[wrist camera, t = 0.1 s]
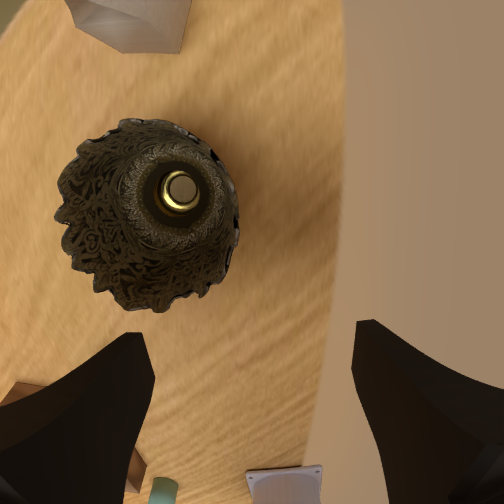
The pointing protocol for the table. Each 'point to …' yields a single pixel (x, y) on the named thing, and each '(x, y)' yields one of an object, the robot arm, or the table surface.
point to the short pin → (163, 491)
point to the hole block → (136, 462)
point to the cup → (148, 214)
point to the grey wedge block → (133, 23)
